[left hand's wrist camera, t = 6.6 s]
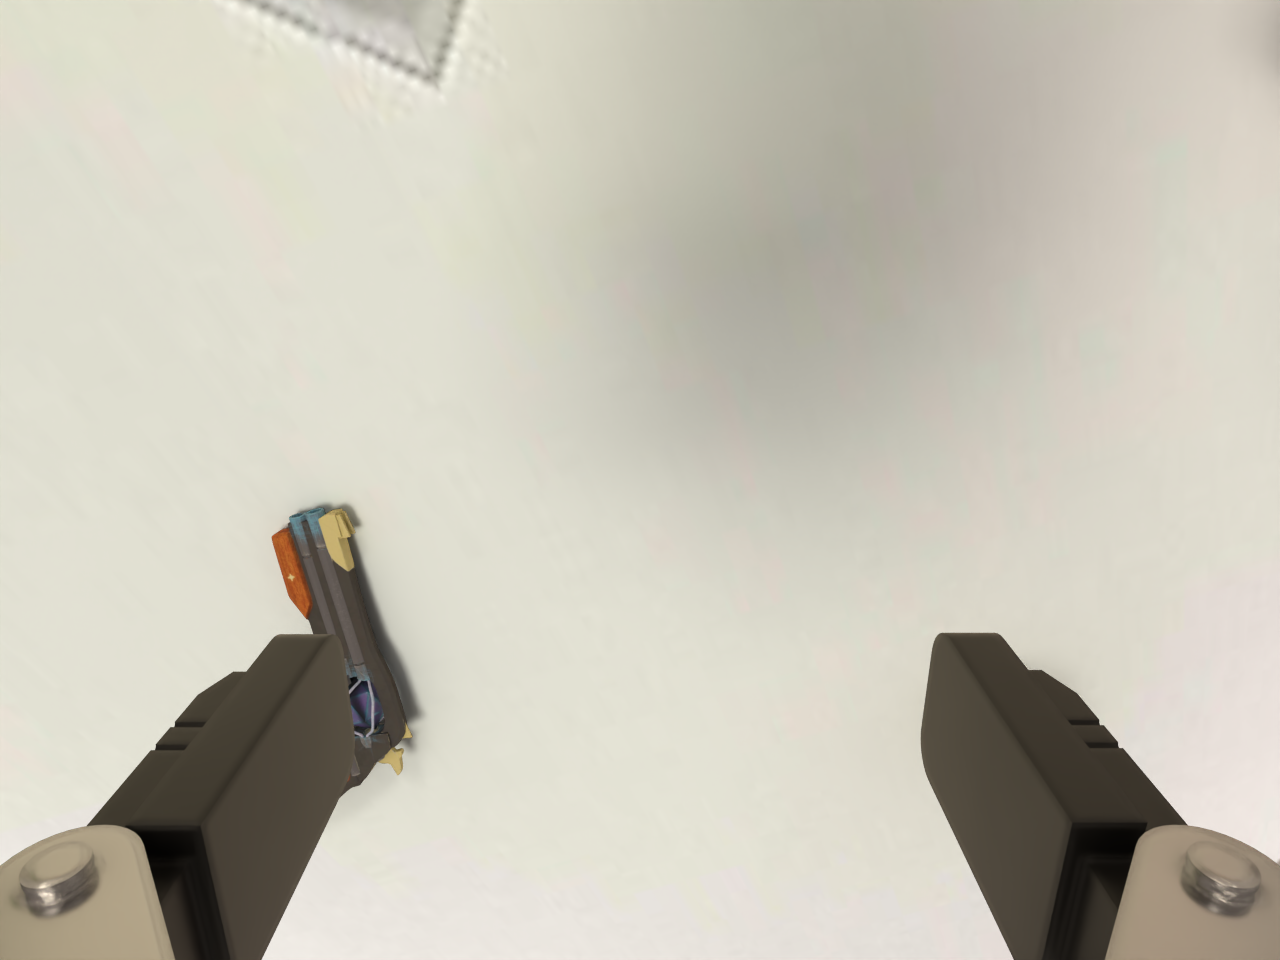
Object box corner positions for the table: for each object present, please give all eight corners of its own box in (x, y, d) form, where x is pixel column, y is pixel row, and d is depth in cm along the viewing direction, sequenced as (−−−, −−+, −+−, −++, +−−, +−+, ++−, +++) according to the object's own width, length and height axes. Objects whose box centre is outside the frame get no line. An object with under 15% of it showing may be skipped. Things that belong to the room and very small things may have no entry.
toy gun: (270, 840, 49) (429, 827, 48) (159, 540, 44) (332, 514, 42) (294, 809, 52) (445, 796, 50) (192, 523, 47) (356, 497, 45)
